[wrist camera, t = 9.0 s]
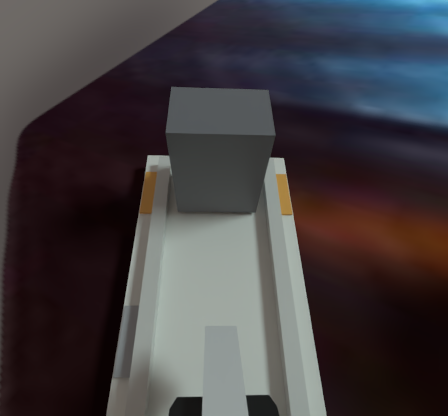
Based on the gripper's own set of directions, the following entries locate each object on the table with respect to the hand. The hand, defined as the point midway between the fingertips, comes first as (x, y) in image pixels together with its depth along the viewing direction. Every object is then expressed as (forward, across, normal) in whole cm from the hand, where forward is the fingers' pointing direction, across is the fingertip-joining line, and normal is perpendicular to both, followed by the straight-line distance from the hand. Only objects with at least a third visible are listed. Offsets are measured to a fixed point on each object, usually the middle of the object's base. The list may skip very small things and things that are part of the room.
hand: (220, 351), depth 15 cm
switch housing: (+8, 0, 0) cm, 8 cm away
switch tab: (+11, 0, +6) cm, 13 cm away
